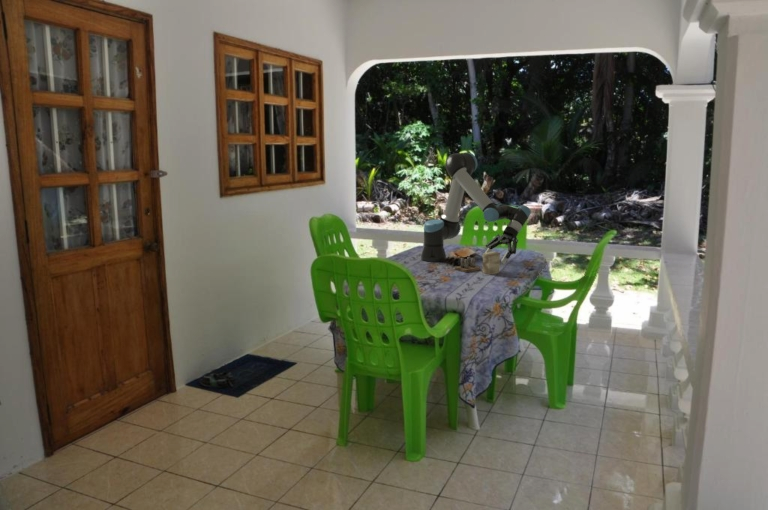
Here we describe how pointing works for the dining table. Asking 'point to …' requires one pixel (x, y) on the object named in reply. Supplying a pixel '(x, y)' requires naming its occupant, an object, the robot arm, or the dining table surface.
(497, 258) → the beige mottled block
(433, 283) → the dining table surface
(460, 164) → the robot arm
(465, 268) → the stand
